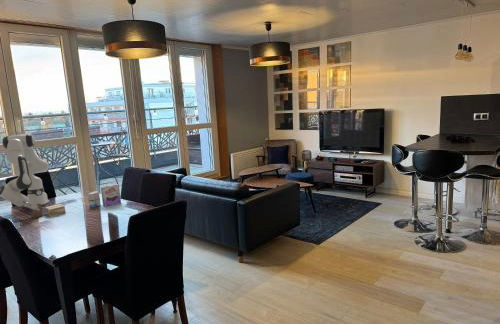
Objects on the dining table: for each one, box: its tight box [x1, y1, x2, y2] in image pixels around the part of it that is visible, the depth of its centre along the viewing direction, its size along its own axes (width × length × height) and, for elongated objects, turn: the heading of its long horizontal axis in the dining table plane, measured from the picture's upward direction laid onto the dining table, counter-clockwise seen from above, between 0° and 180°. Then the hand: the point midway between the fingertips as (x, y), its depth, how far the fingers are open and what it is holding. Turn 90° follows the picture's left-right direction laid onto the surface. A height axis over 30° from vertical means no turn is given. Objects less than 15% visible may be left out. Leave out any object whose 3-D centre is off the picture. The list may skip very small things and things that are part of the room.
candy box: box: [100, 183, 122, 207], centre depth 285 cm, size 14×6×16 cm, turn 120°
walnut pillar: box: [31, 203, 43, 219], centre depth 264 cm, size 5×5×10 cm
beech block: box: [44, 203, 67, 218], centre depth 269 cm, size 11×11×6 cm
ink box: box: [87, 191, 101, 208], centre depth 283 cm, size 9×5×12 cm, turn 168°
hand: (37, 209), depth 264 cm, fingers closed on walnut pillar, 5 cm apart
